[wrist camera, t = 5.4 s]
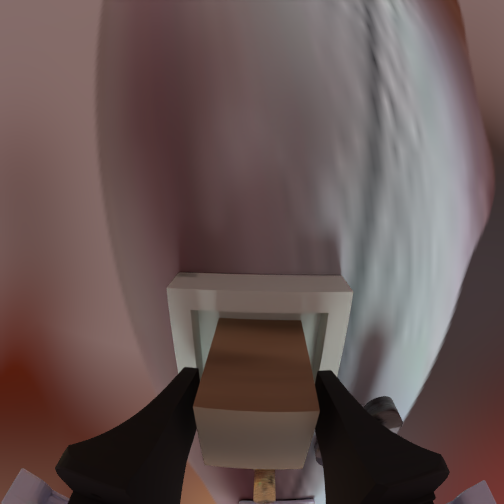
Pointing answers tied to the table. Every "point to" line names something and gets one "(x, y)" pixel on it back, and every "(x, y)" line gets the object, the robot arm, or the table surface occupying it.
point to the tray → (259, 311)
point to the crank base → (271, 482)
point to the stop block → (256, 396)
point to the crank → (385, 413)
